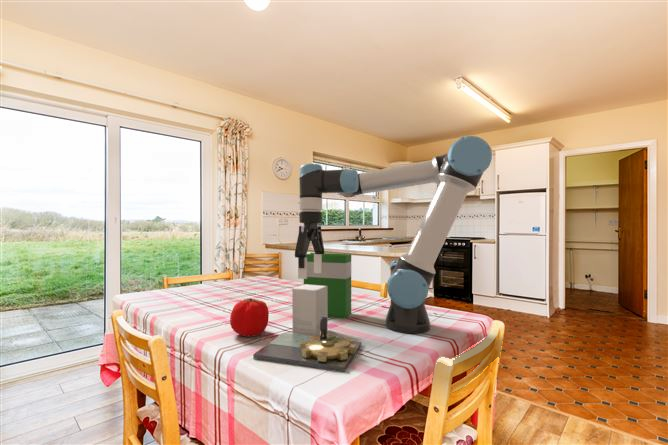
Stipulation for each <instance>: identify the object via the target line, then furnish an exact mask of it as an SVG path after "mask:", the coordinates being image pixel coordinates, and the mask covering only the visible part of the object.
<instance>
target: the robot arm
mask: <svg viewBox="0 0 668 445" xmlns="http://www.w3.org/2000/svg"><path fill="white" fill-rule="evenodd" d="M449 146H450V147H449V149H448V151H447V153H445V154H441V155H438V156H433V158H432V159H431V160H428V161H421V162H415V163H411V164H405V165H400V166H394V167H388V168H382V169H377V170H372V171H366V172H361V173H360V172H359V173H358V171H357V170H356V169H348V168H344V169H330V170H329V169H328V170H326V169H325V170H324V169H323V166H322V165H321V164H319V163H305V164H302V165H301V166H300V169H299V177H298V180H299V201H298V205H299V210H300V212H299V215H298V216H299V223H300V224H303V225H299V226H298V235H297V240H296V246H295V251H294V257H295V258H297V279H300V280H301V279H303V280H304V279H307V258H305V257H306V254H308V251H309V247H310V243H311V244H312V248H313V251H314V253H315V254H314V273H322V254H324V253H325V248H324V247H325V246H324V239H323V234H322V226H321V225H318V224H321V223H322V222H323V212H322V210H323V194H339V195H341V196H343V197H344V198H353V197H355V196H359V195H364V194H371V193H377V192H382V191H389V190H395V189H402V188H407V187H408V188H409V187H415V186H419V185H421V186H422V185H427V184H432V183H434V184H436V185H438V186H437V188H436V190H435V192H434V194H433V196H432V198H431V201H430V203H429V205H428V207H427V209H426V212H425V213H424V215H423V218H422V220H421V221H420V224H419V226H418V229H417V230H416V233H415V235H414V237H413V239H412V242H411V244H410V246H409V248H408V250H407V252H405V253H404V254H402V255H400V256H399V258H398V259H397V260H393V261H391V262H390V267H389V270H390V277H389V278H388V280H387V283H386V290H387V291H386V292H387V295H388V296H389V299H390V303H389V304H390V305H389V307H388V311H387V314H386V316H385V327H386V328H387V329H389V330H391V331H394V332H398V333H405V334H420V333H425V332H428V331H430V330H431V321H430V318H429V314H428V312H427V309H426V305H425V304H426V301H425V300H426V299H427V297H428V295H429V294H428V293H429V288H430V285H431V284H432V281H433V280H434V277H435V275H436V269H435V267H434V266H435V263H436V261H437V258H438V257H439V254H440V252H441V250H442V248H443V246H444V244H445V241H446V239H447V238H448V235H449V233H450V231H451V229H452V227H453V224H454V222H455V220H456V218H457V216H458V215H459V212H460V210H461V208H462V206H463V203H464V202H465V199H466V198H467V195H468V193H471V192H473V191H475V190H476V189H477V187H478V184H479V182H480V181H481V178H482V176H483V174H484V172H486V171H487V169H489V166H490V165H491V164H492V159H493V151H492V148H491V146H490V145H489V143H488V142H487V141H486V140H484V139H483V138H481V137H479V136H475V135H466V136H462V137H460V138H458V139H457V140H455V141H454V142H453V143H452V144H451V145H449Z"/></svg>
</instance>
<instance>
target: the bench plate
mask: <svg viewBox="0 0 668 445" xmlns="http://www.w3.org/2000/svg"><path fill="white" fill-rule="evenodd" d="M311 337H314V336H309V335H300V334H293V332H292V333H291V332H283V333H281V334H280V335H279V336H277V337H276V338H274V339H273V340H271V341H270V342H268V343H267V344H266V345H265V346H263V347H262V348H260V349H259V350H258V351H256V352H255V353H253V359H254V360H259V361H267V362H273V363H279V364H280V363H281V364H285V365H286V364H288V365H294V366H300V367H301V366H302V367H307V368H308V367H309V368H314V369H321V370H327V371H335V372H342V373H345V372H346V370H347V369H348V368H349V366H350V365H351V364H352V361H353V360H354V358H355V357H356V355H357V354H358V352H359V351H360V350H361V348H362V346H363V342H362V341H358V340H352V344H354V345H356V352H355V354H351V353H349V354H348V359H344V360H339V359H327V361H326V362H323V361H318V358H314V357H307V358H306V357H304V356H303V355H302V350H300V344H301V342H302V341H309V340H311Z"/></svg>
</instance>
